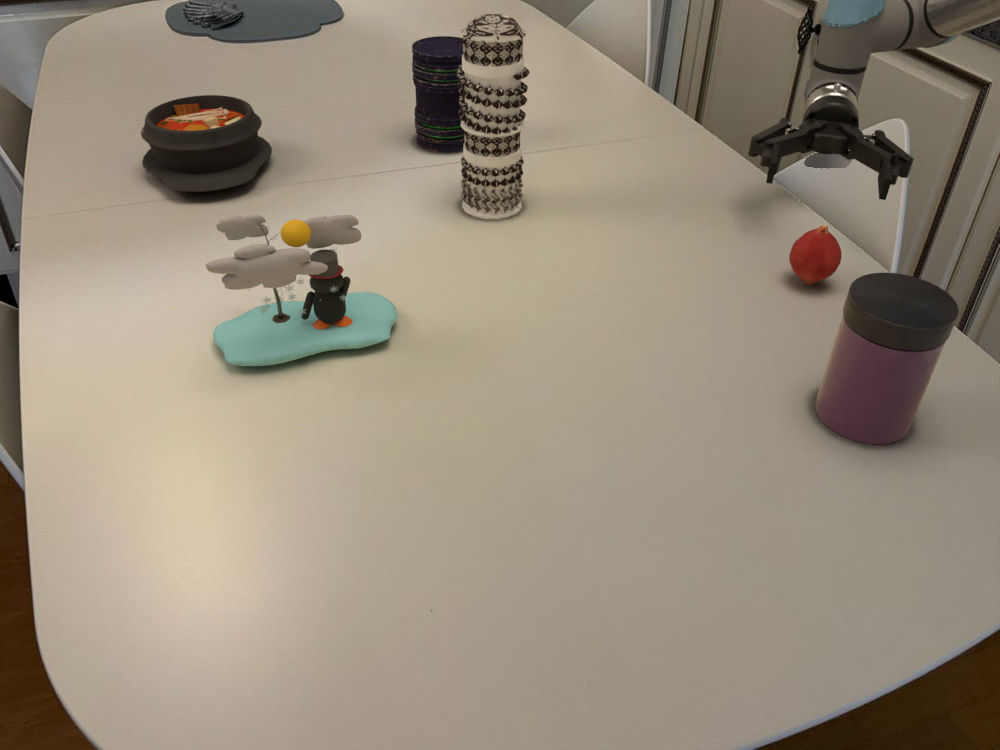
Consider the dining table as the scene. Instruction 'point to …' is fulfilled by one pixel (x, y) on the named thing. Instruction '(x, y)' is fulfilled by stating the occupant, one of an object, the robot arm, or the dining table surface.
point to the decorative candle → (492, 115)
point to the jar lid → (900, 311)
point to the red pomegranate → (815, 255)
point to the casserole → (204, 143)
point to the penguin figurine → (295, 324)
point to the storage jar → (438, 93)
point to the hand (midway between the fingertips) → (827, 181)
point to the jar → (872, 387)
